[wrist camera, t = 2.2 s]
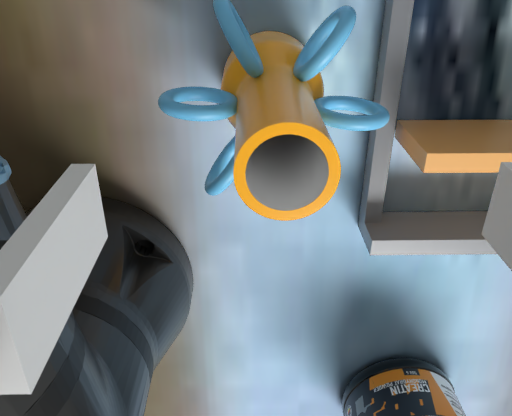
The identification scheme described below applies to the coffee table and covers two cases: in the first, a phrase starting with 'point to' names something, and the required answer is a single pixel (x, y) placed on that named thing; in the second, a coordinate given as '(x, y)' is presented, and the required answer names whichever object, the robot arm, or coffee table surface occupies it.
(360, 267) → the coffee table surface
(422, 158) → the bar
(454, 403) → the supplement container
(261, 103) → the cylinder
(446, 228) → the frame
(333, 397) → the coffee table surface
